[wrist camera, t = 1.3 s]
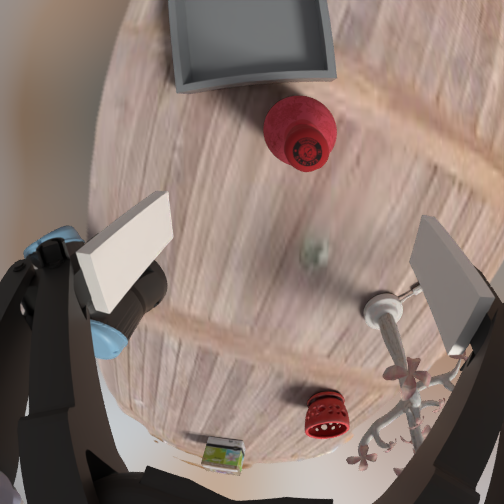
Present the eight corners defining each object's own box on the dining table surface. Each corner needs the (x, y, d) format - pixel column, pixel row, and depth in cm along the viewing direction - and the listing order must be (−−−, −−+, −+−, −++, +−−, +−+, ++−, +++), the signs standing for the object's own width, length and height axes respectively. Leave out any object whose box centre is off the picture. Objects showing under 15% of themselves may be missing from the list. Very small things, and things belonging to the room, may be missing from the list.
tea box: (243, 439, 100) (237, 469, 87) (245, 448, 105) (240, 476, 92) (208, 435, 103) (200, 464, 90) (212, 444, 108) (206, 471, 95)
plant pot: (298, 405, 82) (297, 437, 72) (317, 384, 76) (317, 419, 65) (334, 411, 83) (335, 442, 72) (355, 391, 76) (358, 424, 66)
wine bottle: (267, 150, 48) (233, 209, 22) (271, 95, 43) (241, 77, 17) (323, 157, 47) (362, 225, 21) (330, 102, 42) (383, 97, 16)
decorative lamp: (423, 233, 50) (527, 397, 16) (452, 305, 57) (513, 443, 23) (312, 300, 61) (314, 485, 27) (359, 356, 68) (374, 502, 34)
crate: (189, 94, 44) (176, 93, 39) (178, -18, 33) (166, -29, 28) (331, 81, 40) (336, 78, 35) (314, -35, 29) (316, -50, 24)
